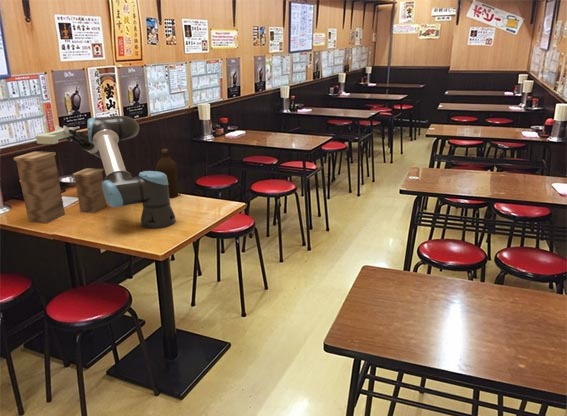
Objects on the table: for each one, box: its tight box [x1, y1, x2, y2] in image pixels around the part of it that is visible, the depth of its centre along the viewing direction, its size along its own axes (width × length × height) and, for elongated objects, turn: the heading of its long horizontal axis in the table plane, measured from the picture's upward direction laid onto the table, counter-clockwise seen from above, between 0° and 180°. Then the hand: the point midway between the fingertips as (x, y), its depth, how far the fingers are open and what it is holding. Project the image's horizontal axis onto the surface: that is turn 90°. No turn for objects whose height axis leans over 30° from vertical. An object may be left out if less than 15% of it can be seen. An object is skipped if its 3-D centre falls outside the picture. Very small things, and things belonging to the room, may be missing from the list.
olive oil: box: [155, 148, 179, 199], centre depth 241 cm, size 11×11×25 cm
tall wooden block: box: [13, 151, 66, 224], centre depth 209 cm, size 11×13×30 cm
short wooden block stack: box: [72, 167, 108, 213], centre depth 223 cm, size 9×11×19 cm
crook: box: [35, 126, 77, 145], centre depth 217 cm, size 24×8×3 cm, turn 168°
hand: (60, 128), depth 219 cm, fingers closed on crook, 3 cm apart
